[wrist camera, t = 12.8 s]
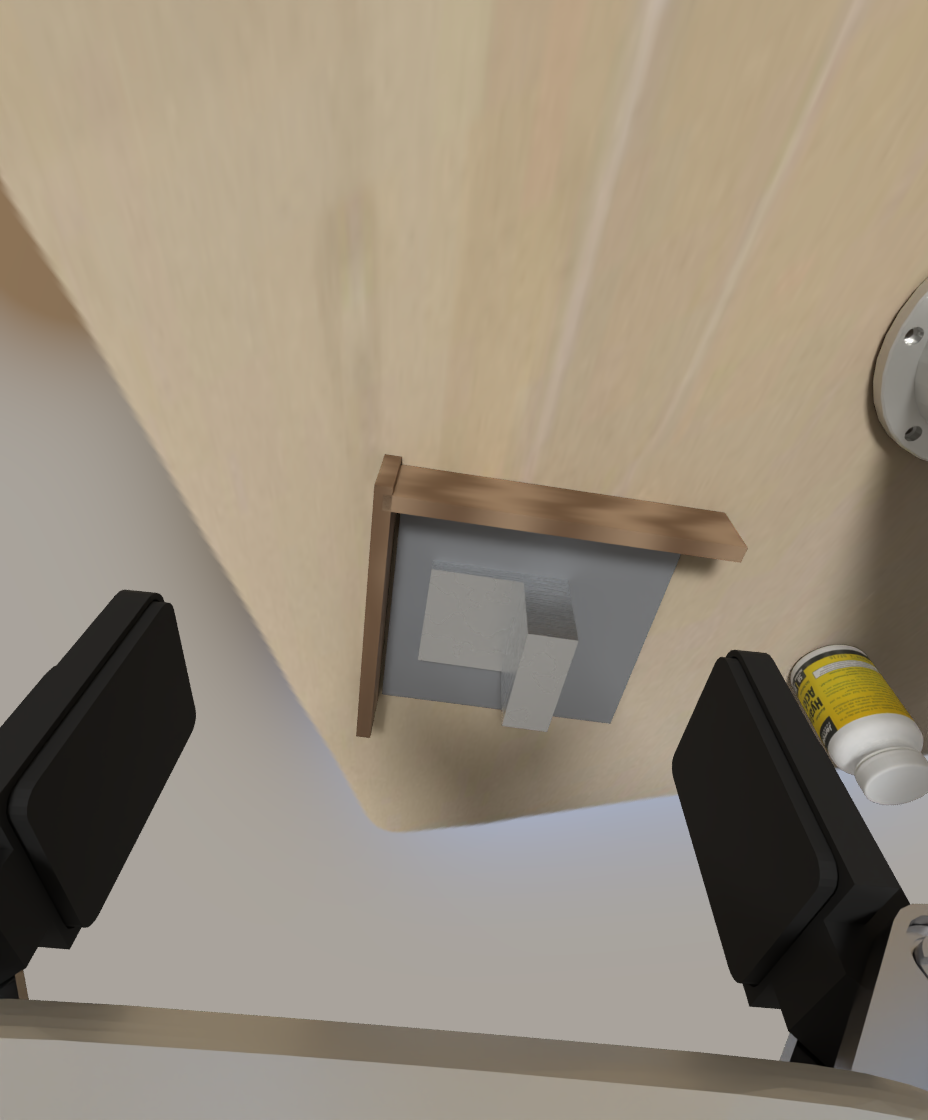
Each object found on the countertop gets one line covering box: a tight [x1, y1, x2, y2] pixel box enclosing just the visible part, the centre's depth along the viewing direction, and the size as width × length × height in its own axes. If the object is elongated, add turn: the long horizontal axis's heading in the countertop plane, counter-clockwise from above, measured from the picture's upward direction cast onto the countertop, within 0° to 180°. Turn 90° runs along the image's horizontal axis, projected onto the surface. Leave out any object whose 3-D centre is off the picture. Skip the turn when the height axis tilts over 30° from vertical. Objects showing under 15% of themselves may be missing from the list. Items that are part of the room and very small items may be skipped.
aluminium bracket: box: [418, 560, 579, 732], centre depth 40 cm, size 8×9×6 cm
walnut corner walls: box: [356, 454, 748, 738], centre depth 41 cm, size 21×21×4 cm
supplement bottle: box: [791, 645, 928, 805], centre depth 41 cm, size 5×5×10 cm
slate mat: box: [382, 513, 681, 724], centre depth 43 cm, size 18×18×1 cm
